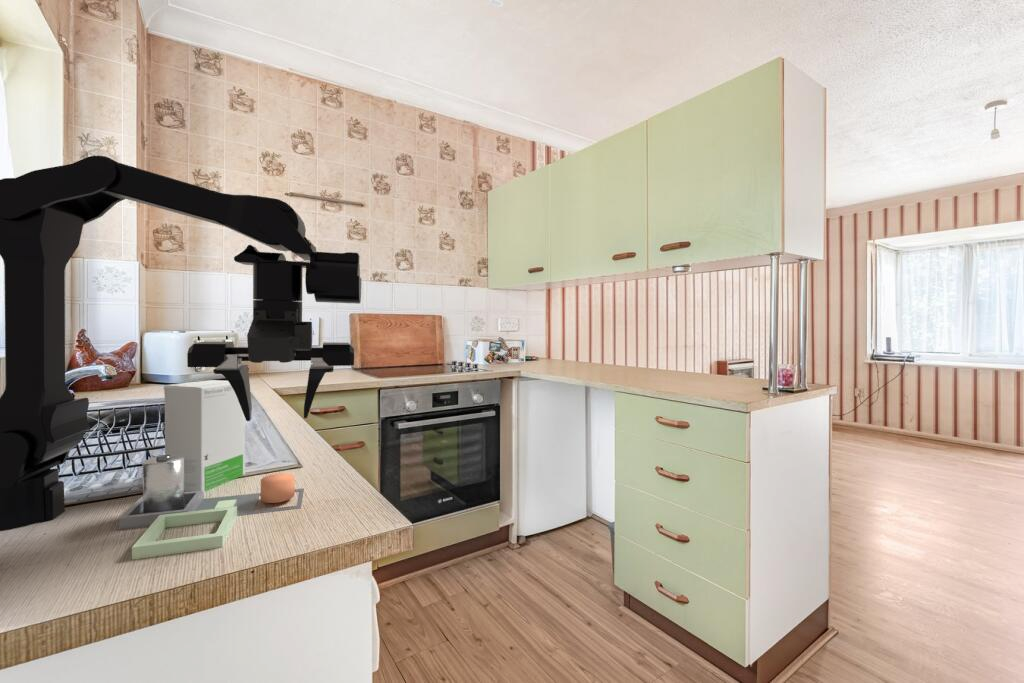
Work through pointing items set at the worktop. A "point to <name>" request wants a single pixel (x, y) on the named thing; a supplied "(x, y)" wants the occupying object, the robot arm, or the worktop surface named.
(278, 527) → the worktop surface
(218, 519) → the pale green square tray
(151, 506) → the cell
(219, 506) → the checker plate
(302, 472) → the worktop surface
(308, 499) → the worktop surface
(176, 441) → the skincare box
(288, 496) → the cylinder
